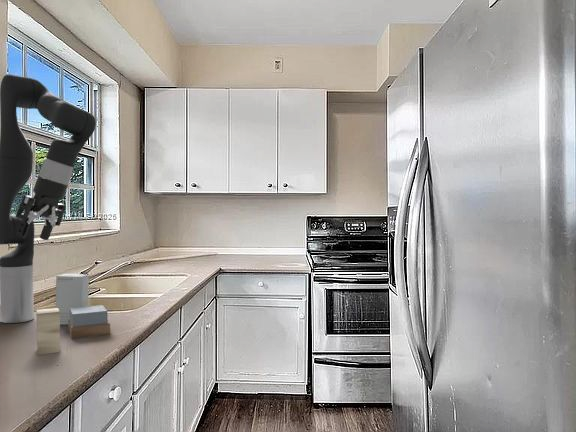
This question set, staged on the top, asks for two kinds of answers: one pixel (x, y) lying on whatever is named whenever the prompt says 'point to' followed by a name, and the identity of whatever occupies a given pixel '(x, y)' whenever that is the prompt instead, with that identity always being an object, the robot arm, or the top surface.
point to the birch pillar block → (48, 331)
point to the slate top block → (88, 315)
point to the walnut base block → (88, 330)
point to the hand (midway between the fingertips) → (32, 238)
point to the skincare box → (71, 294)
